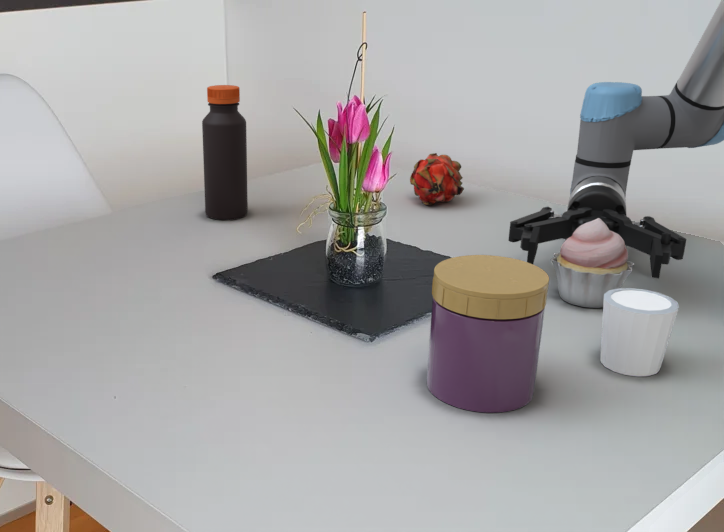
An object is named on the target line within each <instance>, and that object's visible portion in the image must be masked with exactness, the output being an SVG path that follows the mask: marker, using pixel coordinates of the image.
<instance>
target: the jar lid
mask: <svg viewBox="0 0 724 532" xmlns="http://www.w3.org/2000/svg"><path fill="white" fill-rule="evenodd" d="M431 283H432V284H431V295H432V298H433V297H434V299H435V301H436V302H437V303H438V304H440V305H441V306H443V307H445V308H447V309H449V310H451V311H454V312H457V313H460V314H463V315H467V316H472V317H478V318H485V319H517V318H524V317H528V316H532V315H534V314H537V313H539V312H540V311H542V310H543V309H544V307H545V308H546V306H547V301H548V291H549V284H550V277H549V274H548V273H547V272H546V271H545V270H544V269H542V268H541V267H539V266H537V265H536V264H534V263H533V264H531V263H528V262H527V261H525V260H521V259H518V258H513V257H507V256H501V255H491V254H468V255H460V256H453V257H450V258H447V259H443V260H442V261H440V262H438V263H437V264H436V265H435V267H434V269H433V277H432V282H431Z"/></svg>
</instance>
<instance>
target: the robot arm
mask: <svg viewBox="0 0 724 532" xmlns="http://www.w3.org/2000/svg"><path fill="white" fill-rule="evenodd" d="M642 93H643V89H642V87H641V86H640V85H638V84H635V83H630V82H622V81H621V82H620V81H615V82H614V81H600V82H595V83H592V84H590V85H589V86H588V87H587V88H586V90H585V93H584V98H583V100H582V104H581V105H582V106H581V110H580V115H579V118H580V119H579V120H580V122H579V131H578V138H577V139H578V140H577V148H576V149H577V150H576V155H575V159H574V165H573V173H572V179H571V183H570V184H571V185H570V190H569V199H568V203H567V209H566V211H564V212H563V213H562V214H559V213H555V211H554V210H553V208H552V207H549V206H543V207H541V209H540V210H539V211H537V212H533V213H530V214H528V215H525V216H523V217H520V218H517V219H514V220H511V221H510V222H509V231H508V239H507V240H508V242H510V243H518V242H520V245H519V248H520V249H521V250H522V251H524V252H527V256H526V262H528V263H531V264H533V265H534V262H535V260H536V256H537V251H538V247H539V244H542V243H547V242H553V241H557V240H564V241H566V239H568V238H569V237H571V236H572V235H573V233H574V231H575V230H576V229H577V228H578V227H579V226H581V225H583V224H585V223H587V222H591V221H593V220H595V219H597V218H600V219H601V220H602V221H603V222H604V223H605V224H606V225H607V227H608V228H609V230H610V231H613V232H615V233H617V234H619V235H620V236H621V237H622V239H623V240H624V242H625V246H627V247H629V248H631V249H634V250H637V251H639V252H641V253H644V254H646V255H648V256H649V266H650V276H651V278H652V279H660V276H661V275H660V274H661V269H662V265H665V266H666V265H669V264H670V262H671V259H674V260H676V261H682V260H684V255H685V251H686V245H687V241H688V240H687V238H686V237H684V236H682V235H680V234H678V233H677V232H675V231H673V230H671V229H670V228H668V227H666V226H664V225H662V224H660V223H659V222H657V221H656V220H655V218H654V217H652V216H650V215H647V216H646V215H645V216H643V218H640V220H639V221H632V220H631V218H630V217H629V216H628V215H627V199H626V198H627V197H626V195H627V189H628V181H629V176H630V175H629V174H630V168H631V165H632V159H633V155H634V151H644V150H645V151H646V150H659V149H679V148H680V149H682V148H688V149H696V148H700V147H707V146H708V147H709V146H714V145H718V144H720V143H722V142H723V141H724V0H720V2H719V3H718V6H717V7H716V9H715V11H714V12H713V15H712V17H711V19H710V21H709V23H708V24H707V26H706V28H705V30H704V31H703V33H702V35H701V36H700V39H699V41H698V43H697V45H696V46H695V48H694V50H693V51H692V54H691V56H690V57H689V59H688V61H687V63H686V65H685V67H684V69H683V71H682V72H681V74H680V76H679V78H678V79H677V81H676V83H675V84H674V86H673V88H672V90H671V92H670V93H669V94H665V95H649V96H648V95H642Z"/></svg>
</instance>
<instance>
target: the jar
mask: <svg viewBox="0 0 724 532" xmlns="http://www.w3.org/2000/svg"><path fill="white" fill-rule="evenodd" d="M431 302H432V303H431V315H430V316H431V318H430V329H429V345H428V356H427V357H428V359H427V369H426V370H427V371H426V387H427V389H428V391H429V392H430V393H431V394H432V395H433V396H434V397H435V398H436V399H438V400H440V401H441V402H443V403H445V404H447V405H450V406H451V407H454V408H457V409H461V410H466V411H470V412H476V413H487V414H489V413H492V414H493V413H496V414H497V413H506V412H513V411H515V410H518V409H522V408H523V407H525V406H527V405H528V404H529V403H530V402H531V401H532V400H533V398H534V395H535V388H536V380H537V373H538V366H539V365H538V364H539V357H540V349H541V342H542V334H543V327H544V326H543V325H544V320H545V319H544V318H545V312H546V311H545V310H546V306H545V307H544V309H543V310H542V311H540V312H539V313H537V314H534V315H532V316H528V317H524V318H517V319H485V318H478V317H472V316H467V315H463V314H460V313H457V312H454V311H451V310H449V309H447V308H445V307H443V306H441V305H440V304H438V303H437V302H436V301H435V299H434V297H433V296H432V301H431Z"/></svg>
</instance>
